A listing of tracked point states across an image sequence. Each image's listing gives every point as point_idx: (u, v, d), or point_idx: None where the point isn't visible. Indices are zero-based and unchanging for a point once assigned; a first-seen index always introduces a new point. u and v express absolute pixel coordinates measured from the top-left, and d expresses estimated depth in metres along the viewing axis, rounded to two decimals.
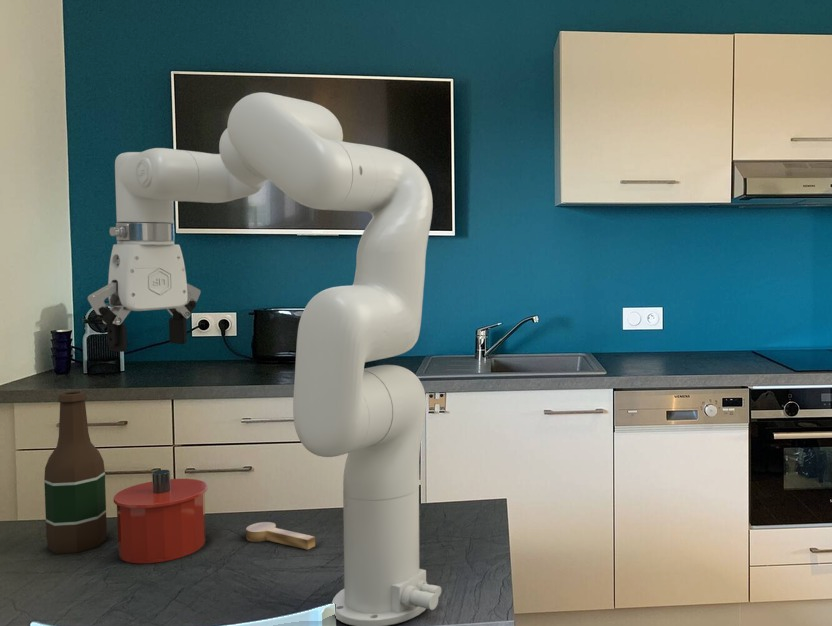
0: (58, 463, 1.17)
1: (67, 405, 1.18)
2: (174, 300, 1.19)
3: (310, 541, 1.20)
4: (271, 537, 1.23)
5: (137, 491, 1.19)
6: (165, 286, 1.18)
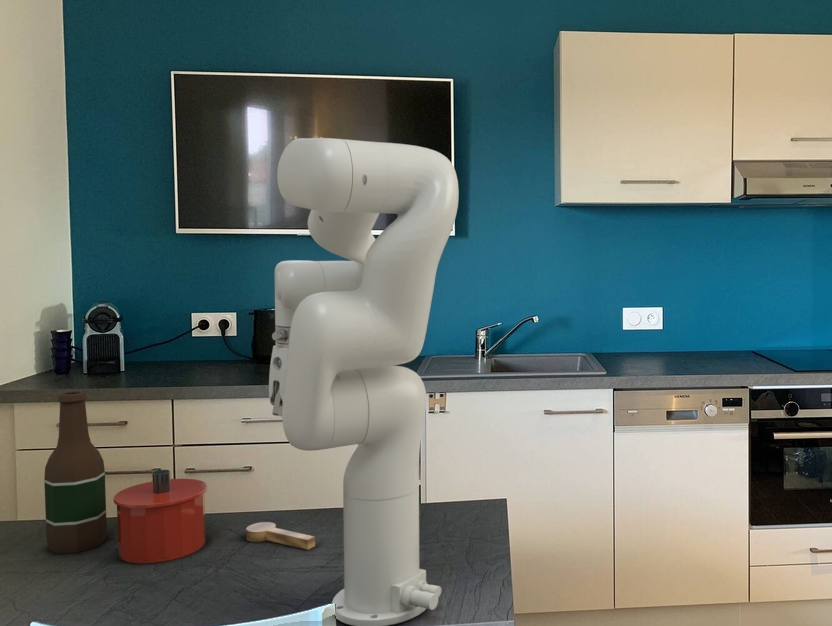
0: (58, 463, 1.17)
1: (67, 405, 1.18)
2: None
3: (310, 541, 1.20)
4: (271, 537, 1.23)
5: (137, 491, 1.19)
6: None
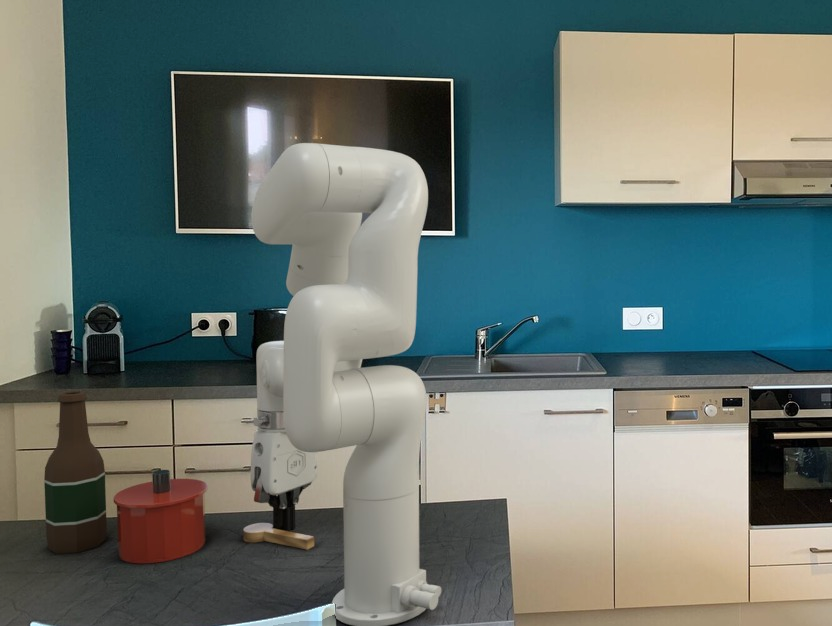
0: (58, 463, 1.17)
1: (67, 405, 1.18)
2: (307, 477, 1.26)
3: (309, 541, 1.20)
4: (268, 538, 1.23)
5: (137, 491, 1.19)
6: (300, 466, 1.25)
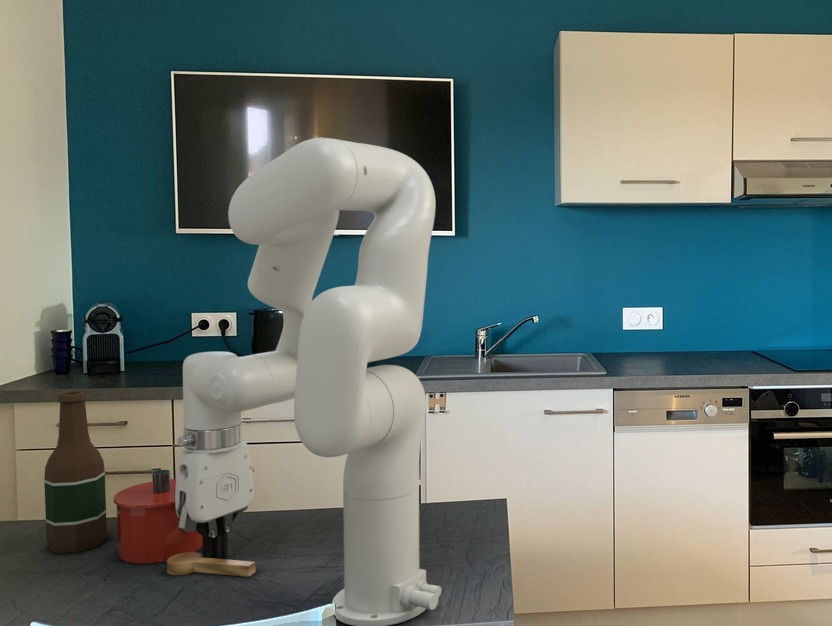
0: (58, 463, 1.17)
1: (67, 405, 1.18)
2: (241, 502, 1.15)
3: (251, 567, 1.10)
4: (199, 568, 1.11)
5: (137, 491, 1.19)
6: (232, 490, 1.13)
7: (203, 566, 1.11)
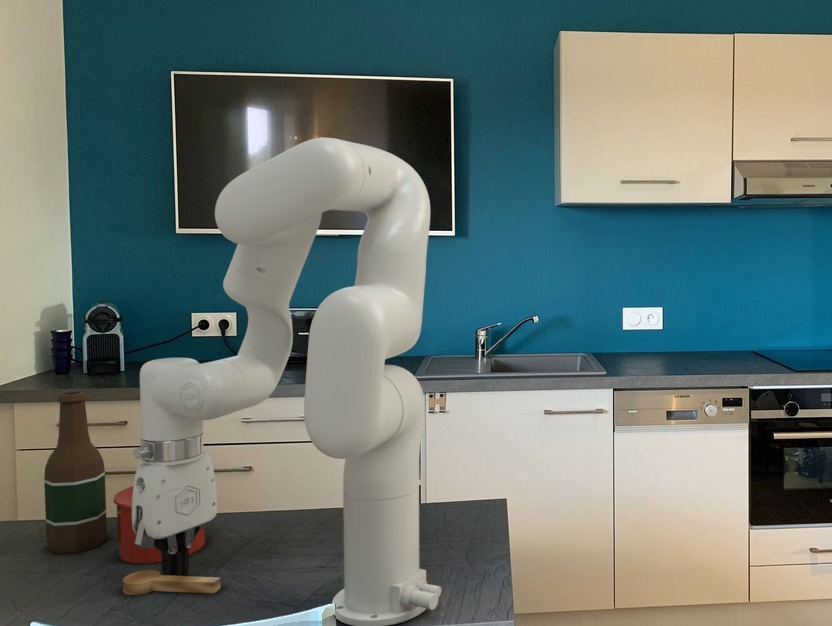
0: (58, 463, 1.17)
1: (67, 405, 1.18)
2: (203, 516, 1.09)
3: (216, 583, 1.05)
4: (159, 587, 1.05)
5: None
6: (193, 504, 1.07)
7: (163, 584, 1.05)
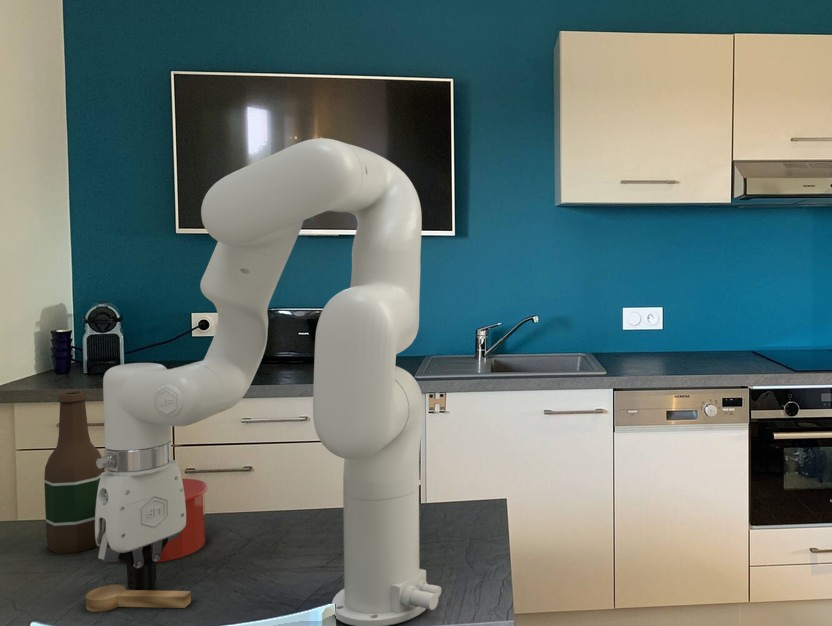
0: (58, 463, 1.17)
1: (67, 405, 1.18)
2: (171, 528, 1.04)
3: (186, 597, 1.01)
4: (125, 602, 1.01)
5: None
6: (160, 515, 1.03)
7: (130, 600, 1.01)
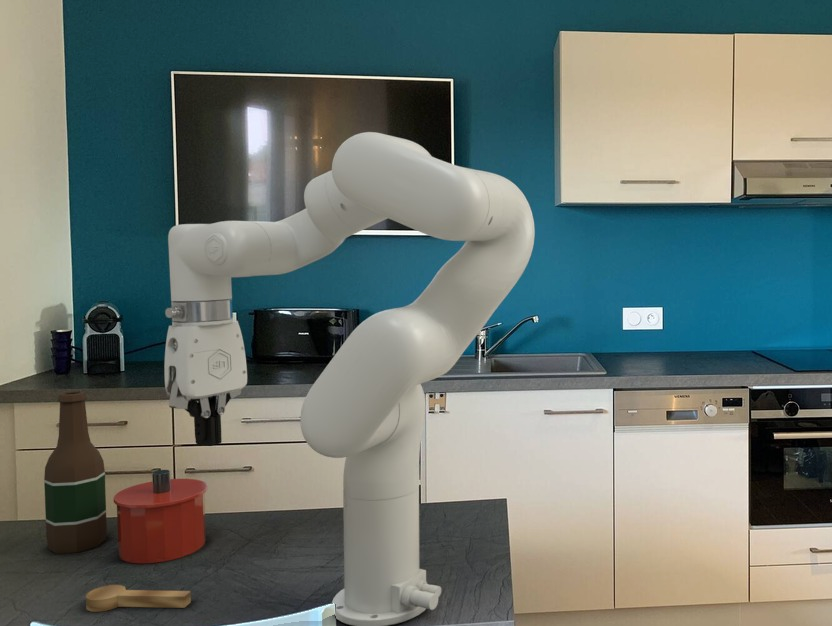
0: (58, 463, 1.17)
1: (67, 405, 1.18)
2: (234, 383, 1.09)
3: (186, 597, 1.01)
4: (125, 602, 1.01)
5: (137, 491, 1.19)
6: (225, 368, 1.08)
7: (130, 599, 1.01)
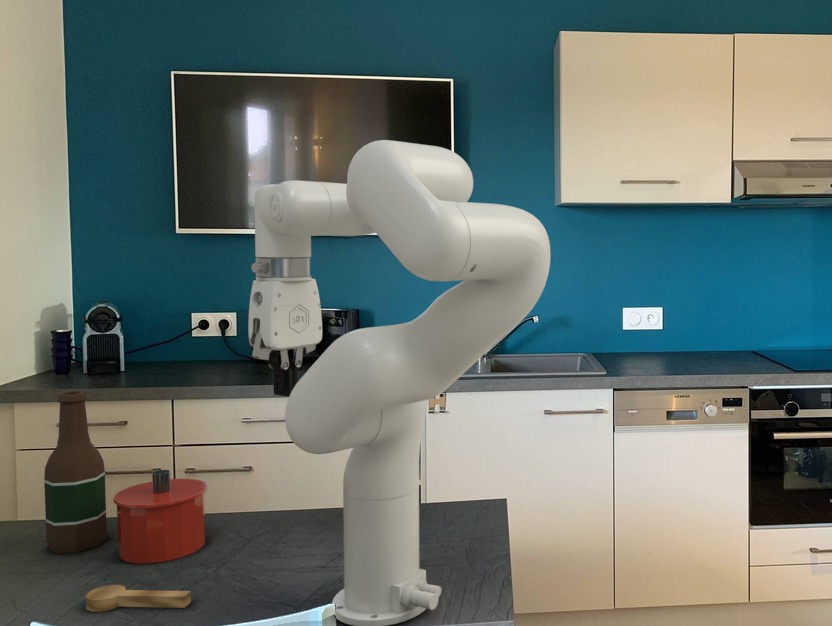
0: (58, 463, 1.17)
1: (67, 405, 1.18)
2: (311, 337, 1.15)
3: (186, 597, 1.01)
4: (125, 602, 1.01)
5: (137, 491, 1.19)
6: (303, 323, 1.13)
7: (130, 599, 1.01)
